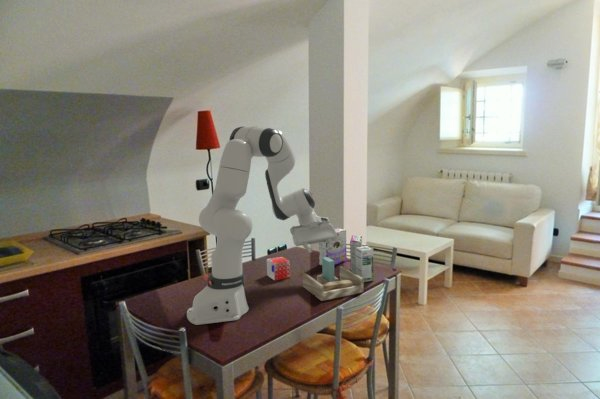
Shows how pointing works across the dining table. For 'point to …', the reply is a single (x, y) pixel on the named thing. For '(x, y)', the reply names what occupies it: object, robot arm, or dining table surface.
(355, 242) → the candy bar box
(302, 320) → the dining table surface
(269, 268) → the red white patterned cube
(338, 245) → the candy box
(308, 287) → the frame
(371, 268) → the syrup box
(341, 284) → the upper offcut
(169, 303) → the dining table surface
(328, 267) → the teal panel
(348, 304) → the dining table surface
